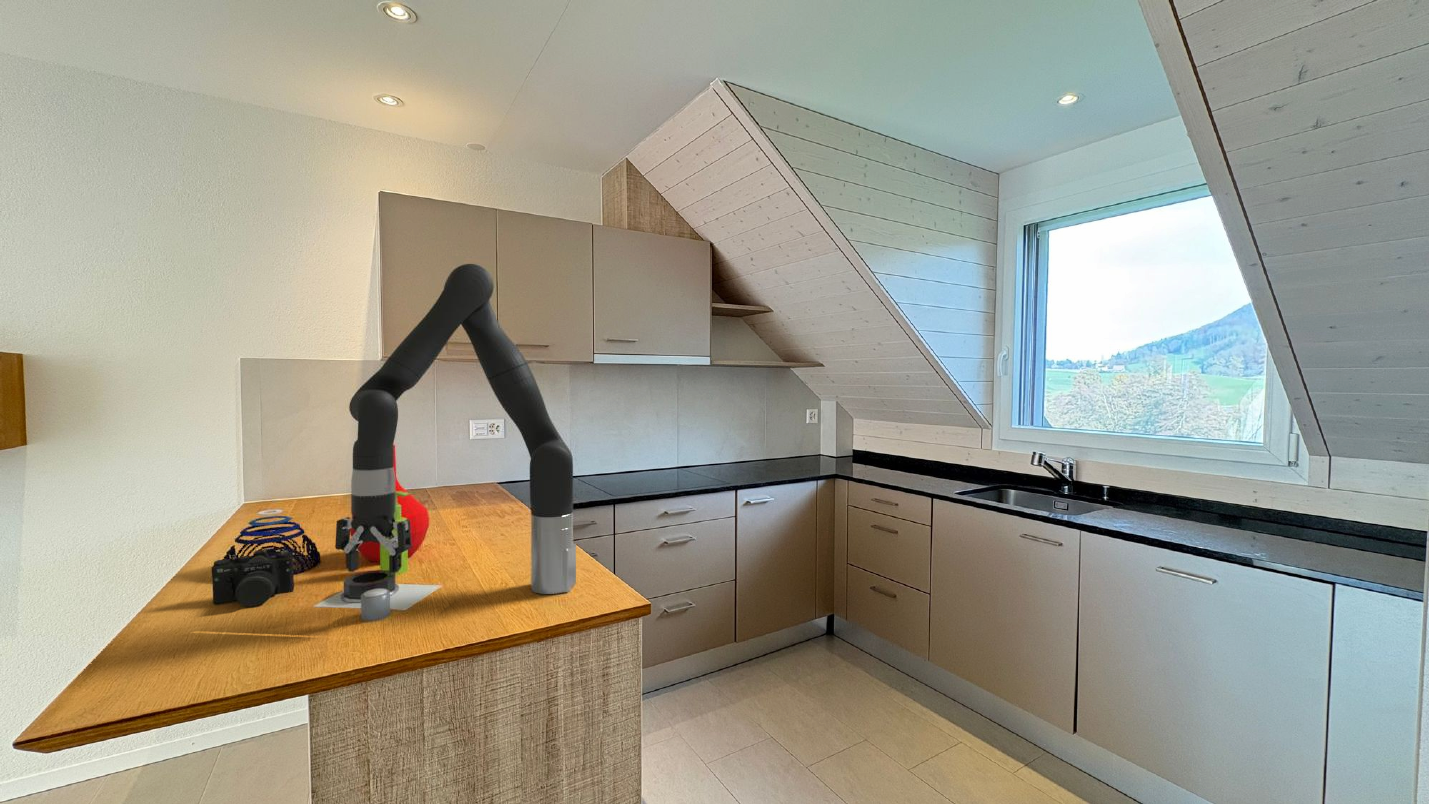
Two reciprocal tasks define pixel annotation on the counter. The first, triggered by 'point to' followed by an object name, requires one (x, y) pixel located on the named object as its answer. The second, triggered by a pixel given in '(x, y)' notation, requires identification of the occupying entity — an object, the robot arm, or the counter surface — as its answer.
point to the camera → (252, 578)
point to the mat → (398, 601)
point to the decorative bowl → (278, 541)
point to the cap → (375, 605)
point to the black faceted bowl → (368, 584)
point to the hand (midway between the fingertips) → (373, 571)
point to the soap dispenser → (397, 516)
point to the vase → (408, 510)
